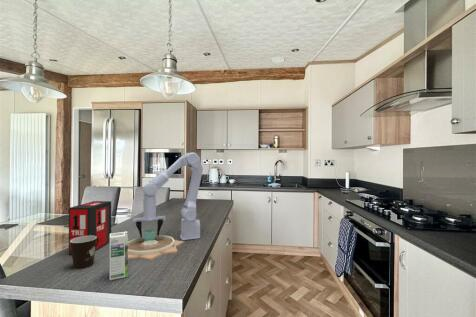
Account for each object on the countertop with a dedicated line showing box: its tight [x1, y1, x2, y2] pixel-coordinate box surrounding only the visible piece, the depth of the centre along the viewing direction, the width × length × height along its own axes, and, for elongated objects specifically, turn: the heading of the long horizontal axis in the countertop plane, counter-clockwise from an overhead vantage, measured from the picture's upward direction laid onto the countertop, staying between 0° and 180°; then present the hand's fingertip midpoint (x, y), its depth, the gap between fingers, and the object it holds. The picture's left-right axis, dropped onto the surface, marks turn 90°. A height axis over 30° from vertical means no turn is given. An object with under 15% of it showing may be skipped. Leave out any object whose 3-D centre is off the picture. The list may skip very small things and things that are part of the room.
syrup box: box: [108, 230, 129, 281], centre depth 83 cm, size 6×6×14 cm
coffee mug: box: [70, 236, 99, 270], centre depth 93 cm, size 12×9×10 cm
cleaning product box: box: [68, 200, 112, 256], centre depth 110 cm, size 16×9×20 cm, turn 178°
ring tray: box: [128, 234, 185, 261], centre depth 110 cm, size 30×30×2 cm
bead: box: [144, 229, 156, 241], centre depth 116 cm, size 4×4×5 cm
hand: (149, 236), depth 116 cm, fingers open, 7 cm apart
